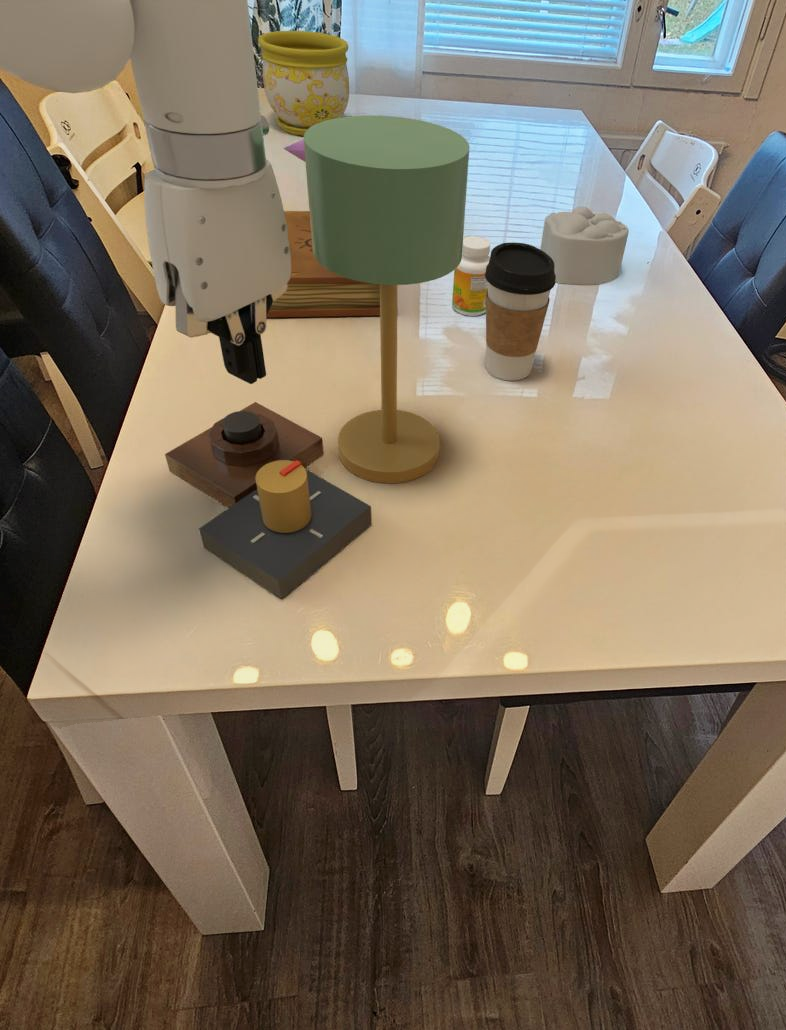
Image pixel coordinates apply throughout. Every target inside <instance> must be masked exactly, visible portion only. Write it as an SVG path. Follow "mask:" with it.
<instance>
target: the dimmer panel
mask: <svg viewBox="0 0 786 1030" xmlns="http://www.w3.org/2000/svg"><path fill="white" fill-rule="evenodd" d="M305 470H306V472H307V478H308V487H309V496H310V505H311V513H312V515H311V519H310V521H309V523H308V524H307V525H306V526H305V527H304V528H302V529H300V530H298V531H295V532H291V533H279V532H275V531H272V530H270V529H269V528H267V527H266V525H265V524H264V522H263V518H262V513H261V507H260V502H259V496H258V490H257V489H256V490H255V491H253V492H252V493H250V494H249V495H247V496H246V497H244V498H243V499H241V500H240V501H239V502H237V503H236V504H234V505H233V506H231V507H230V508H228V507H227V508H226V509H225V510H223V512H221V513H220V514H218V515H217V516H215V517H214V518H212V519H210V520H209V521H207V522H206V523H205V524H203V525H202V526H200V527H199V528H198V531H199V535H200V538H201V542H202V546H203V548H204V549H206V550H207V551H208V552H210V553H211V554H213V555H215V556H216V557H217V558H219V559H221V560H222V561H224V563H227V564H228V565H229V566H231V567H232V568H234V569H236V570H237V571H238V572H240V573H242V574H243V575H245V576H246V577H247V578H248V579H250V580H252V581H253V582H255V583H256V584H258V585H259V586H261V587H262V588H264V589H265V590H267V591H269V592H270V593H272V594H273V595H274V596H276V597H278V598H279V599H281V600H283V599H285V597H286V596H287V595H289V594H290V593H291V592H293V591H294V590H296V588H297V587H298V586H300V585H301V584H302V583H303V582H305V581H306V580H307V579H308V578H309V577H311V576H312V575H313V574H314V573H315V572H316V571H317V570H319V569H320V568H321V567H322V566H324V565H325V564H326V563H327V562H328V561H330V560H331V559H332V558H333V557H335V556H336V555H337V554H338V553H339V552H340V551H342V550H343V549H345V547H347V545H349V544H350V543H351V542H352V541H353V540H355V539H356V538H357V537H358V536H360V535H361V534H362V533H363V532H364V531H366V530H367V529H368V528H369V527H370V526H372V506H371V504H368V503H366V502H364V501H363V500H361V499H360V498H358V497H356V496H354V495H352V494H350V493H349V492H347V491H345V490H343V489H342V488H340V487H338V486H336V485H335V484H333V483H331V482H330V481H328V480H325V479H324V478H322V477H321V476H319V475H317V474H315V473H313V472H311V471H310V470H308V469H306V468H305Z"/></svg>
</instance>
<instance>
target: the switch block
mask: <svg viewBox="0 0 786 1030" xmlns="http://www.w3.org/2000/svg"><path fill="white" fill-rule="evenodd" d="M240 411H249V412H253V413H255V414H256V415H258V417H259V419H260V424H261V430H262V436H261V438H260V439H259V440H257V441H256V442H254V443H250V444H245V445H237V444H230V443H229V442H228V441H227V440H226V439H225V434H224V429H223V425H222V422H223V419H224V418H225V417H223V418H221V419H219V420H218V421H216V422H214V423H213V425H212V426H211V427H209V428H208V429H206V430H204V431H202V432H200V433H199V434H197V435H196V436H194V437H192V438H190V439H189V440H187V441H185V442H184V443H181V444H180V445H178V446H176V447H175V448H172V449H171V450H169V451H168V452H166V453H164V457H165V461H166V463H167V466H168V470H169V472H171V473H173V474H174V475H176V476H177V477H179V478H181V479H182V480H184V481H185V482H187V483H188V484H190V485H192V486H193V487H194V488H196V489H198V490H200V491H201V492H203V493H204V494H206V495H208V496H209V497H211V498H212V499H214V500H216V501H217V502H219V503H220V504H222V505H224V506H226V507H227V509H228V508H230V507H231V506H233V505H234V504H236V503H237V502H239V501H240V500H241V499H243V498H244V497H246V496H247V495H249V494H250V493H252V492H253V491H255V490H256V489H257V485H256V474H257V472H258V471H259V469H260V468H261V467H263V466H264V465H266V464H268V463H270V462H274V461H279V460H289V461H296V460H297V461H299V462H301V465H302V466H303V467H304V468H306V467H307V466H309V465H310V464H311V463H313V462H314V461H315V460H317V459H318V458H320V457H321V456H323V455H324V442H323V437H321V436H320V435H318V434H317V433H314V432H313V431H310V430H309V429H306V428H305V427H303V426H301V425H299V424H297V423H295V422H294V421H292V420H290V419H288V418H286V417H285V416H283V415H281V414H279V413H277V412H275V411H273V410H271V409H270V408H268V407H266V406H265V405H262V404H260V403H259V402H257V401H255V402H253V403H250V404H249V405H248V406H246V407H243V408H242V409H241V410H240Z"/></svg>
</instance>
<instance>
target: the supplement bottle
mask: <svg viewBox="0 0 786 1030" xmlns="http://www.w3.org/2000/svg"><path fill="white" fill-rule="evenodd" d="M490 253H491V242H490V241H489V240H488V239H487V238H485V237H482V236H476V235H475V236H474V235H470V236H465V237H463V248H462V259H461V262H460V264H459V265H458V267H457V268H456V269H455V270H454V271H453V284H452V298H451V299H452V300H451V307H452V309H453V310H454V311H455V312H457V313H459V314H460V315H464V316H469V317H476V316H480V315H483V314H486V291H487V289H488V281H487V280H486V278H485V272H486V267H487V265H488V264H489V260H490Z"/></svg>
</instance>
